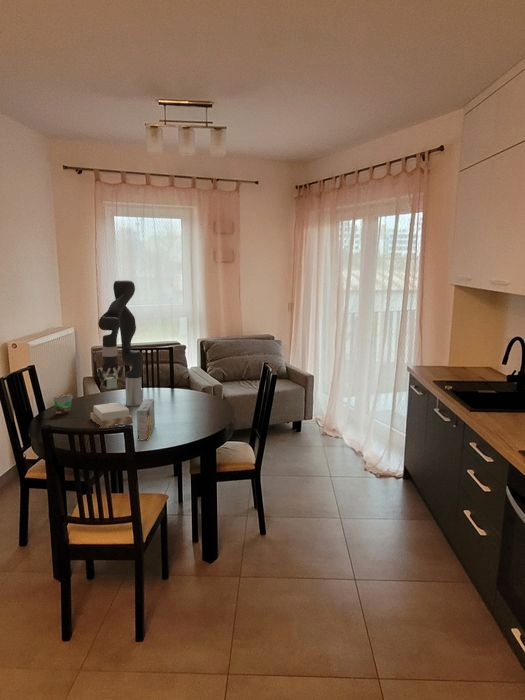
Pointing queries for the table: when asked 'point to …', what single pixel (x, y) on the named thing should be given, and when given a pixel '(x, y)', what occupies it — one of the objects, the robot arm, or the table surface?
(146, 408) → the snack box
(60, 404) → the food container
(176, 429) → the table surface
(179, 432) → the table surface
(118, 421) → the tower bottom slab
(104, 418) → the tower top slab
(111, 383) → the sage block
